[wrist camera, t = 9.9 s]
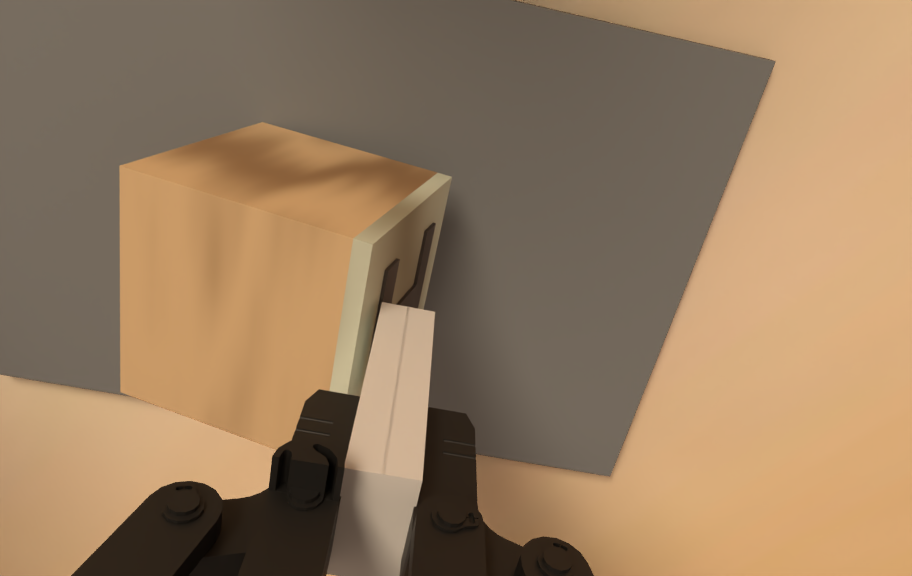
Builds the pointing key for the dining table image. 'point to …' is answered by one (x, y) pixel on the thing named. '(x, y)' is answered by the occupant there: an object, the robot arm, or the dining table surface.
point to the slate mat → (405, 140)
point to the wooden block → (265, 272)
